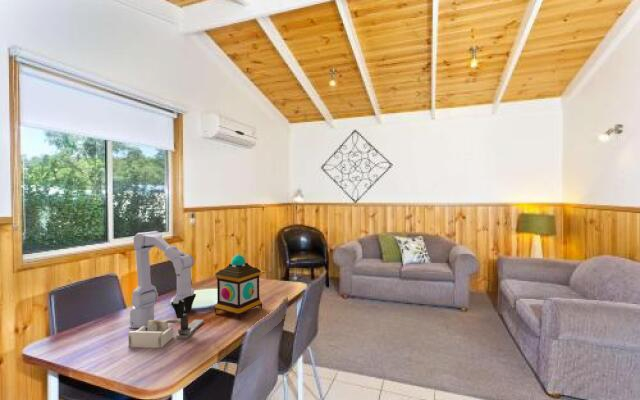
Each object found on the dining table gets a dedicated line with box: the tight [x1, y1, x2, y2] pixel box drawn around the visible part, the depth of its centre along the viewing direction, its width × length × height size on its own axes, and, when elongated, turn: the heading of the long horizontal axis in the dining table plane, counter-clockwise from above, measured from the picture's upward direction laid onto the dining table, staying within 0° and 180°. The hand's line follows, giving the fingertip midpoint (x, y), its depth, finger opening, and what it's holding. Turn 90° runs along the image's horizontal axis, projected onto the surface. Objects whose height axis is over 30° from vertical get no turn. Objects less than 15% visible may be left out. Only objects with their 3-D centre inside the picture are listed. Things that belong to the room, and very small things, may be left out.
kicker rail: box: [176, 319, 205, 339], centre depth 141 cm, size 4×17×1 cm, turn 177°
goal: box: [127, 326, 174, 349], centre depth 129 cm, size 13×9×6 cm
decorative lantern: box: [214, 254, 263, 321], centre depth 162 cm, size 20×20×30 cm
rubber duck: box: [149, 322, 157, 331], centre depth 131 cm, size 5×7×8 cm
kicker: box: [147, 313, 191, 335], centre depth 135 cm, size 17×4×9 cm, turn 87°
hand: (184, 314), depth 135 cm, fingers open, 7 cm apart
